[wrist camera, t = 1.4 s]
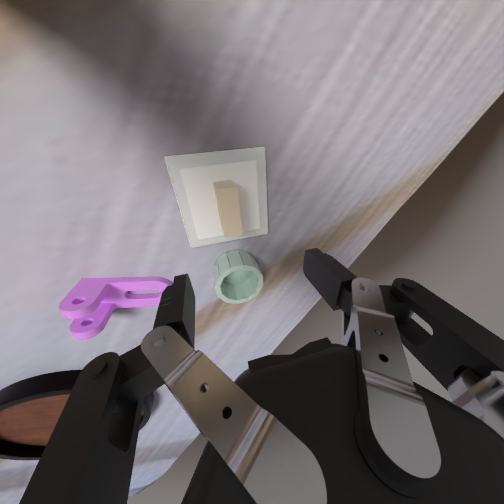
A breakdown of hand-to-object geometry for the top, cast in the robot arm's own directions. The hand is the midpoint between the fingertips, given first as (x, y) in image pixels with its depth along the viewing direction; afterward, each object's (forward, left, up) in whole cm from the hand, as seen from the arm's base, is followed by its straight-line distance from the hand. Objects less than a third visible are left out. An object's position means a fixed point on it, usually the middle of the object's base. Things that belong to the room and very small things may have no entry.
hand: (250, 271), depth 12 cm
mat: (0, 0, -18) cm, 18 cm away
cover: (0, 0, -17) cm, 17 cm away
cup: (+13, 0, -18) cm, 22 cm away
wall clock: (+44, -42, -19) cm, 63 cm away
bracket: (+13, -18, -18) cm, 29 cm away
